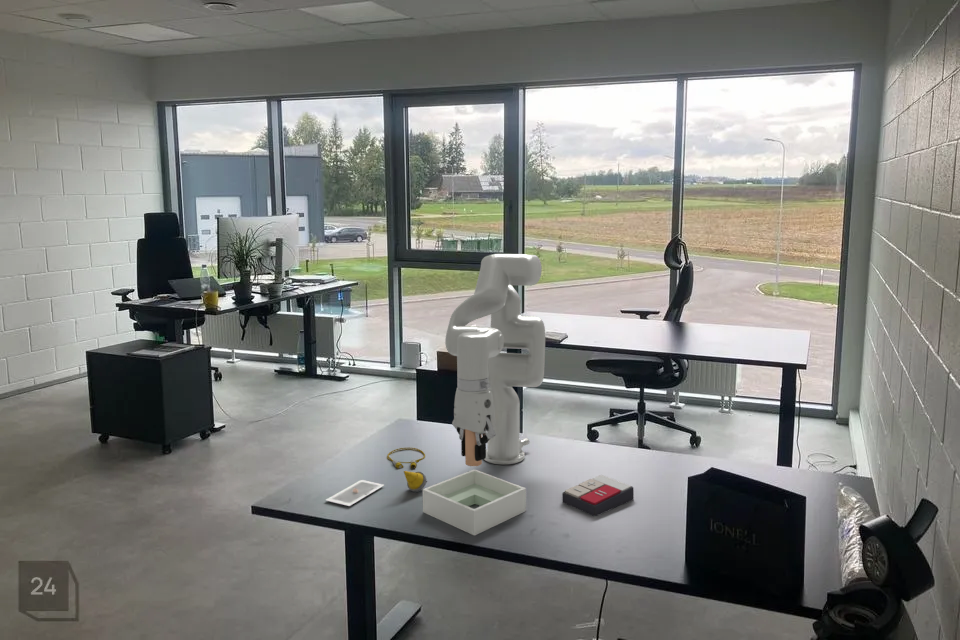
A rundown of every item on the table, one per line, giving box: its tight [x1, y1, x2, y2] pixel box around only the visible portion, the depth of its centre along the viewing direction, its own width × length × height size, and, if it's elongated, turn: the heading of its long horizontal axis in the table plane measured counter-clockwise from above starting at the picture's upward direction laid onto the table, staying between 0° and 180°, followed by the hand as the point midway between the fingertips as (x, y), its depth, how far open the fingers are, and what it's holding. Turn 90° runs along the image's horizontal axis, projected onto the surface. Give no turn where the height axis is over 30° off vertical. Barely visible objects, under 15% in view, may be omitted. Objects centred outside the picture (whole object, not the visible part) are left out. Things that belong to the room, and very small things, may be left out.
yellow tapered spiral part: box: [403, 470, 428, 493], centre depth 194 cm, size 5×5×10 cm
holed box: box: [422, 469, 527, 536], centre depth 181 cm, size 18×18×6 cm
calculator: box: [561, 474, 635, 517], centre depth 187 cm, size 11×4×15 cm
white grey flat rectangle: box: [325, 479, 385, 507], centre depth 193 cm, size 8×15×2 cm, turn 152°
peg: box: [464, 429, 483, 467], centre depth 179 cm, size 4×4×9 cm
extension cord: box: [386, 447, 426, 469], centre depth 218 cm, size 12×16×2 cm
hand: (473, 456), depth 179 cm, fingers closed on peg, 4 cm apart
